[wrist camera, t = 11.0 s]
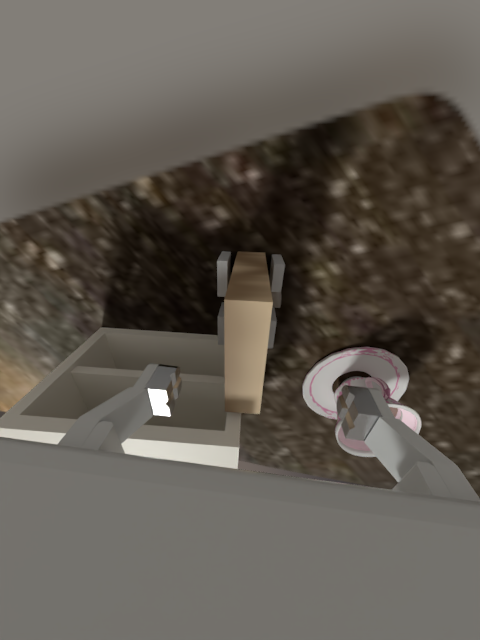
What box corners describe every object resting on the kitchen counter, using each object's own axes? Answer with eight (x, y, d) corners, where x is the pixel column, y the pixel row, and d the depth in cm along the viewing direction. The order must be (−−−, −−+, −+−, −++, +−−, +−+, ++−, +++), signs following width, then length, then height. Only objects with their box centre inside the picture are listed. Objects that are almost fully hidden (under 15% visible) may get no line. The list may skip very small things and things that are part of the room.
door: (274, 252, 19) (289, 303, 11) (265, 333, 24) (271, 415, 15) (237, 251, 20) (224, 299, 11) (235, 331, 24) (224, 411, 15)
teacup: (387, 418, 30) (416, 468, 24) (296, 414, 30) (305, 462, 25) (423, 346, 24) (472, 391, 18) (308, 343, 24) (324, 386, 19)
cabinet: (281, 254, 19) (310, 328, 9) (261, 400, 29) (265, 517, 19) (73, 242, 20) (-120, 299, 10) (121, 390, 30) (50, 498, 19)
